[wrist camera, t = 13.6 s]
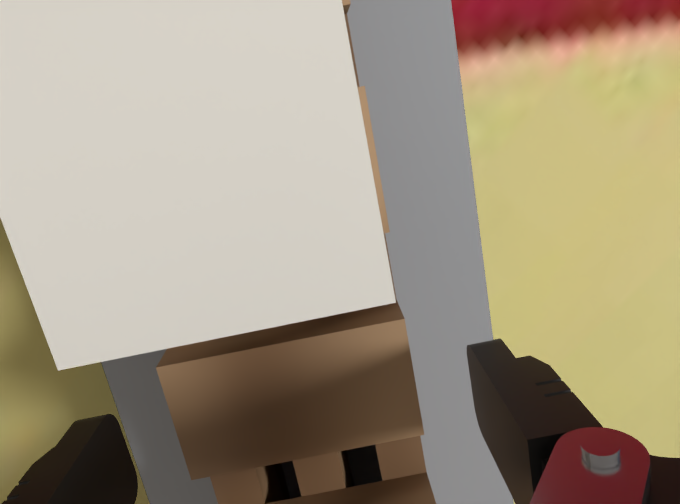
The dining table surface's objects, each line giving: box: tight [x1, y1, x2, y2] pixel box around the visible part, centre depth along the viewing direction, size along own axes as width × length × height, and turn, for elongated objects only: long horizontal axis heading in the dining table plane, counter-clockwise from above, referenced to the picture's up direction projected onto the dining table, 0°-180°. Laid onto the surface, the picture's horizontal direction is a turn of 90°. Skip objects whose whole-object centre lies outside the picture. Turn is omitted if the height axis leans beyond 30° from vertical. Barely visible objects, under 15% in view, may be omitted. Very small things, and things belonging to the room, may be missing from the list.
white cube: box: [0, 0, 396, 371], centre depth 9 cm, size 4×4×4 cm
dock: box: [101, 0, 513, 504], centre depth 19 cm, size 12×26×4 cm, turn 11°
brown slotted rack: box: [156, 0, 436, 504], centre depth 15 cm, size 6×22×4 cm, turn 11°
